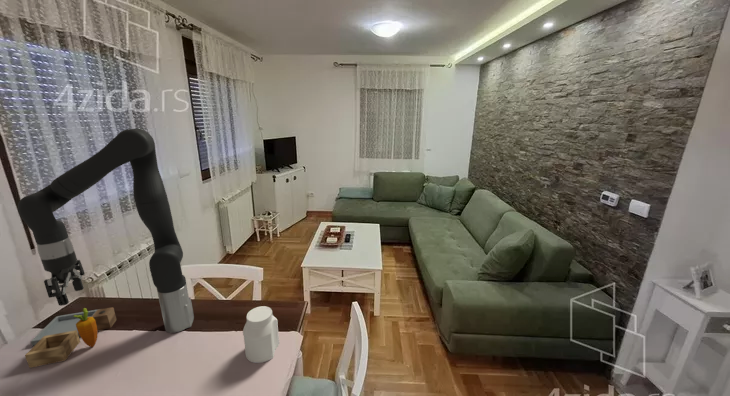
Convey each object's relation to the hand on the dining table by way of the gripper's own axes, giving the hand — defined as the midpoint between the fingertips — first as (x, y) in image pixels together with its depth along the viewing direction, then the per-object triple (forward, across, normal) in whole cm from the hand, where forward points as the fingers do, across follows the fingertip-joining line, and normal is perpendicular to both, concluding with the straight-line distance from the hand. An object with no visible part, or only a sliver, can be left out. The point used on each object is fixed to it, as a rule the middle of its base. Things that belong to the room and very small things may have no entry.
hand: (72, 296), depth 96 cm
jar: (+22, -21, -58) cm, 66 cm away
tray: (+20, +14, +12) cm, 27 cm away
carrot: (+21, 0, -1) cm, 21 cm away
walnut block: (+21, +12, 0) cm, 24 cm away
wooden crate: (+20, 0, +9) cm, 22 cm away
